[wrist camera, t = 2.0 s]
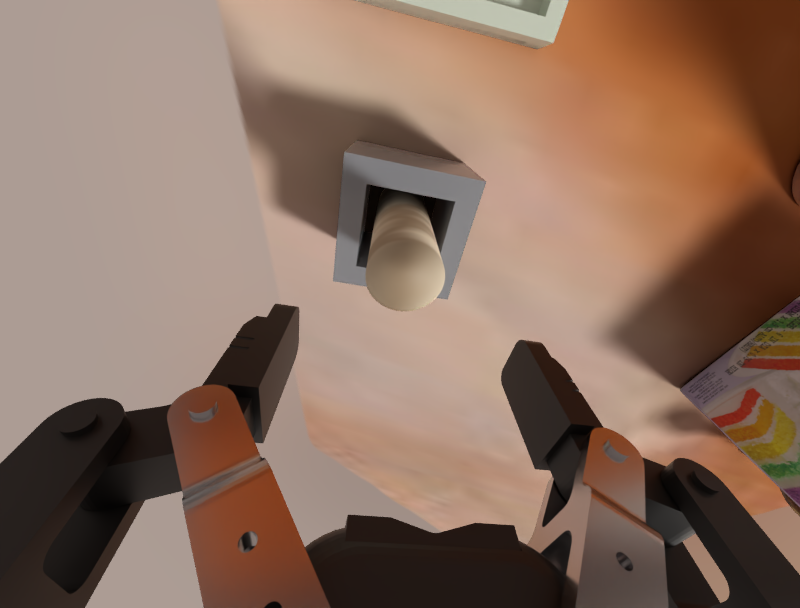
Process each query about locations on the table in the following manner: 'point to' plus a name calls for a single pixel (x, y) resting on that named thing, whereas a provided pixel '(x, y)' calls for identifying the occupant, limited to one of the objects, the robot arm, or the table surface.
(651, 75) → the table surface
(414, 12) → the sage tray
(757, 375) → the cake pan box
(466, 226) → the grey cup
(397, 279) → the birch peg
